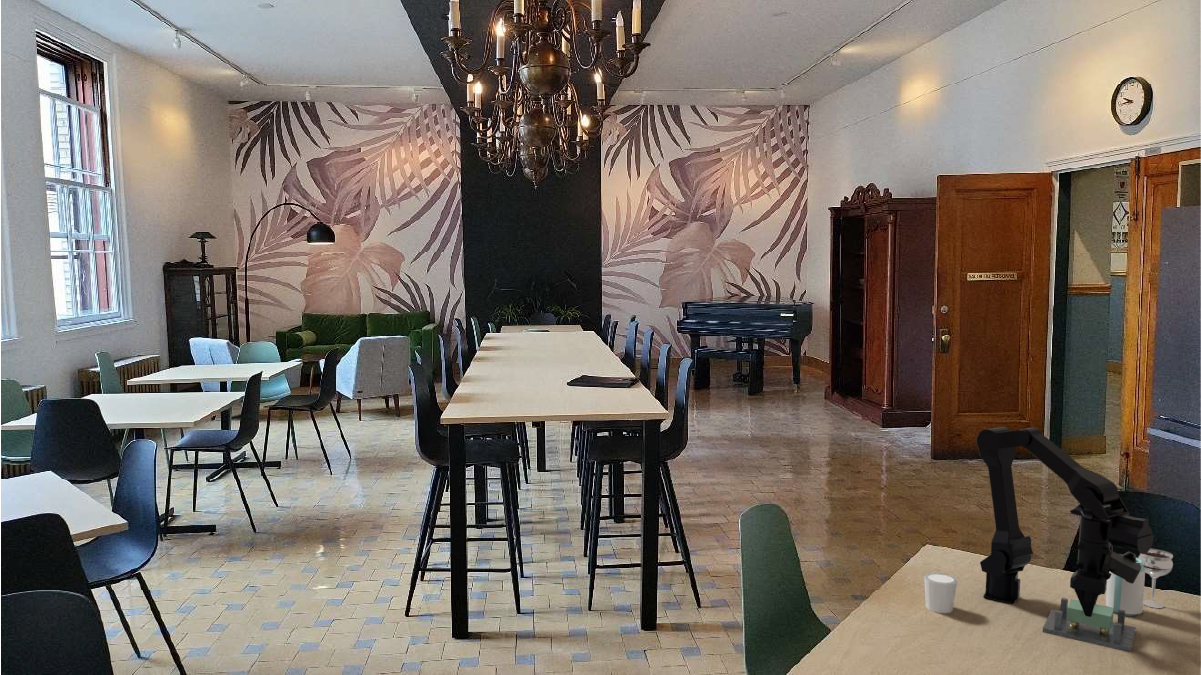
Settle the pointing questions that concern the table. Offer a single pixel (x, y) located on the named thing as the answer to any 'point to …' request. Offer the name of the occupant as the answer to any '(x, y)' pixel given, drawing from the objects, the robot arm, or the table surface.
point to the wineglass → (1156, 569)
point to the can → (1126, 593)
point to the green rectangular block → (1099, 617)
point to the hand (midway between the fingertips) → (1090, 611)
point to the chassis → (1090, 629)
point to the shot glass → (940, 592)
